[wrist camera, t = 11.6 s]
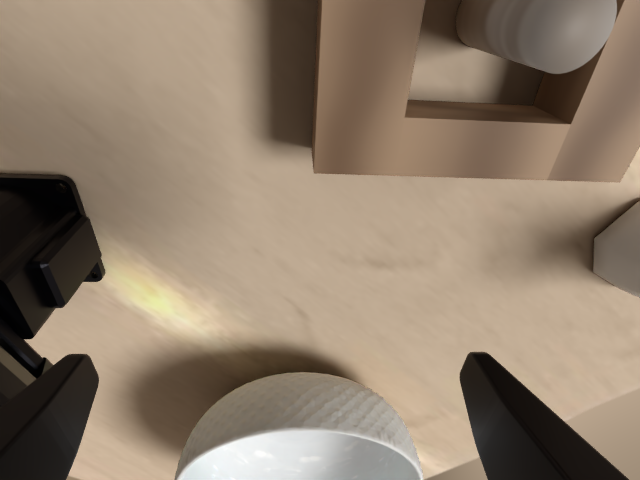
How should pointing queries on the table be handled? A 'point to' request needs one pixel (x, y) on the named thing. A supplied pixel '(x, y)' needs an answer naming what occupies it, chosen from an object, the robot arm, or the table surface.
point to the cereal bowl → (300, 434)
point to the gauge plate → (479, 118)
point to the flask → (620, 252)
